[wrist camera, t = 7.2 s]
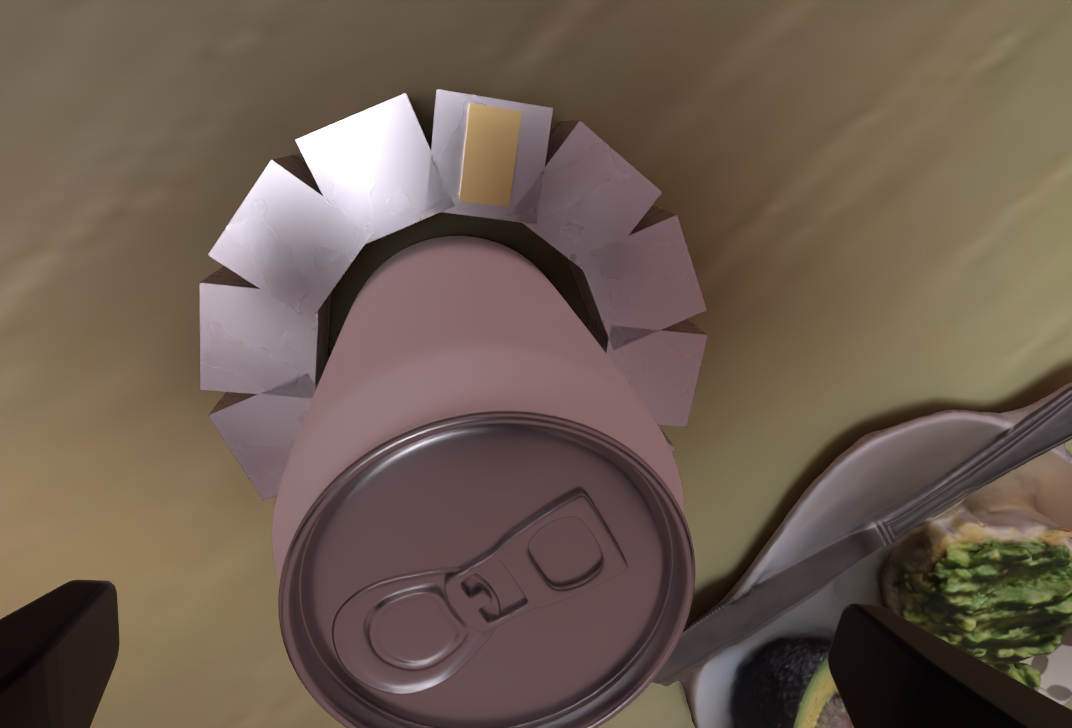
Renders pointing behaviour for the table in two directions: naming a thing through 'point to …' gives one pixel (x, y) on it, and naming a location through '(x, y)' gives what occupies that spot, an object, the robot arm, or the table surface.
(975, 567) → the avocado toast plate
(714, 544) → the table surface
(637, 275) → the toothed ring
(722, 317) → the table surface
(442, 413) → the can
